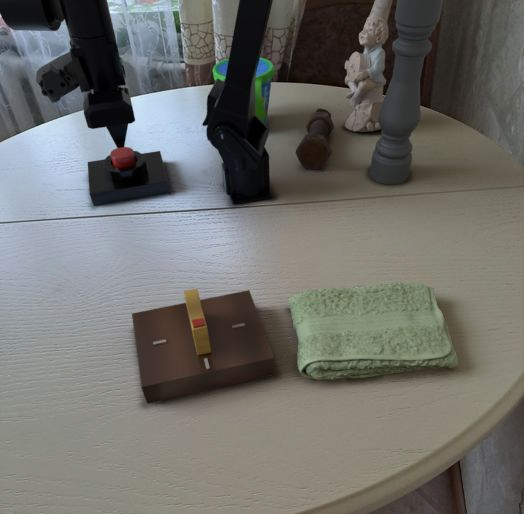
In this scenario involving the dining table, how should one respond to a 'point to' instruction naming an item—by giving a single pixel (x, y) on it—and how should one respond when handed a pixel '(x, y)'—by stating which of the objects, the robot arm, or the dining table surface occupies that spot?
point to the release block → (127, 179)
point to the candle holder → (404, 90)
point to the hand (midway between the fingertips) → (120, 146)
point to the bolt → (316, 141)
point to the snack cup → (261, 84)
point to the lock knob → (197, 322)
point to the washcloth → (370, 331)
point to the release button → (123, 157)
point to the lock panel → (184, 351)
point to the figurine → (368, 71)
